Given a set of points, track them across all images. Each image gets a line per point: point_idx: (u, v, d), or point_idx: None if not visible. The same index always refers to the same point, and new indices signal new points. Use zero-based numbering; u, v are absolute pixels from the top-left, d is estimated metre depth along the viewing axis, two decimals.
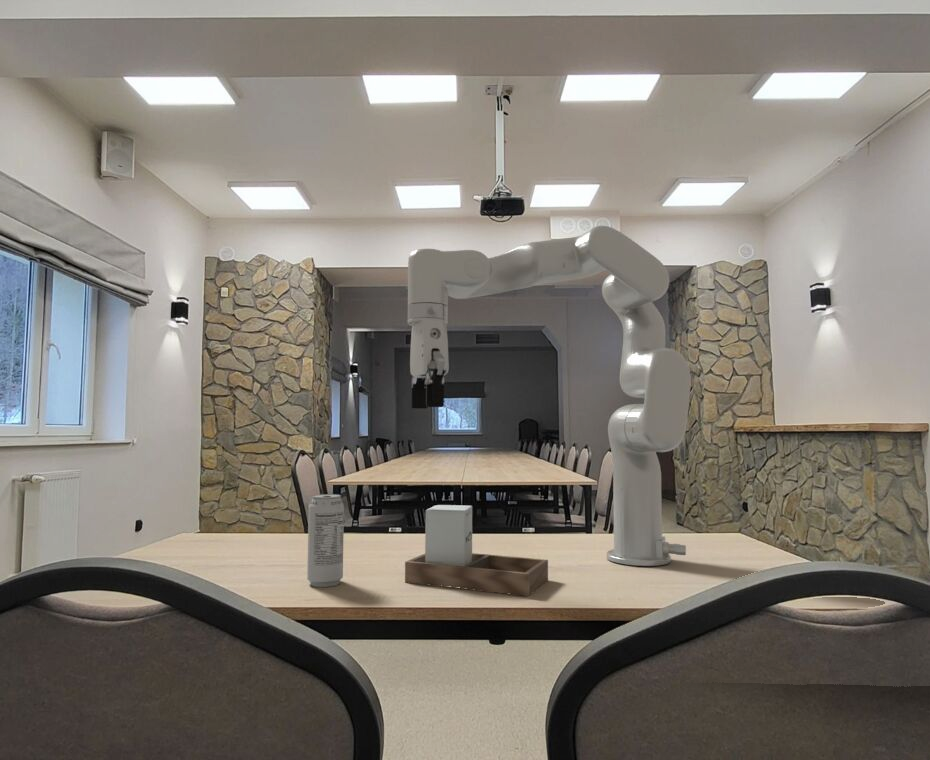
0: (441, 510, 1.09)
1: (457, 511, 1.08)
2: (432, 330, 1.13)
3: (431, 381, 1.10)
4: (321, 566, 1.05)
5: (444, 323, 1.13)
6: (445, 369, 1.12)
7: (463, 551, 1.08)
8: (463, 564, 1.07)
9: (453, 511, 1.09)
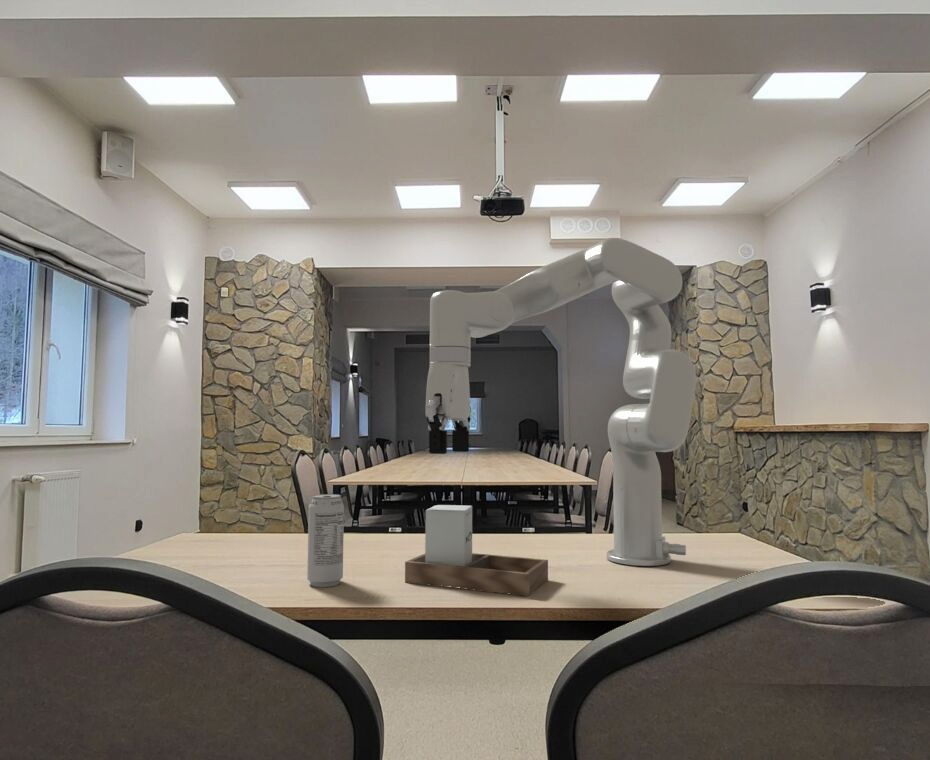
0: (441, 510, 1.09)
1: (457, 511, 1.08)
2: None
3: (468, 427, 1.18)
4: (321, 566, 1.05)
5: None
6: None
7: (463, 551, 1.08)
8: (463, 564, 1.07)
9: (453, 511, 1.09)
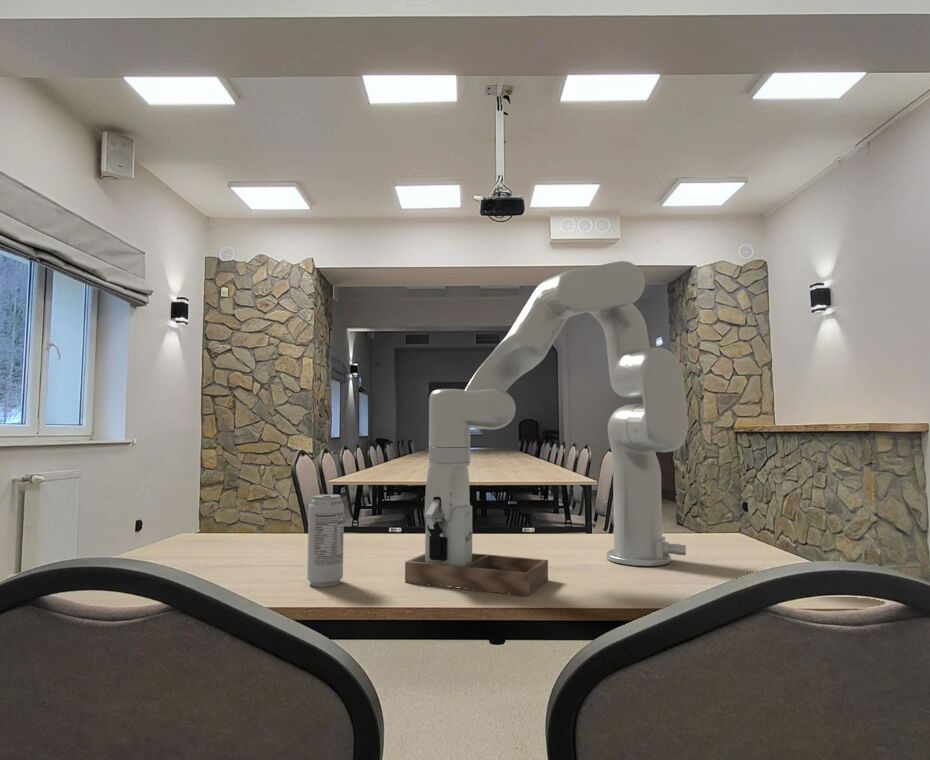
0: (441, 510, 1.09)
1: (457, 511, 1.08)
2: None
3: None
4: (321, 566, 1.05)
5: None
6: None
7: (463, 551, 1.08)
8: (463, 564, 1.07)
9: (453, 511, 1.08)
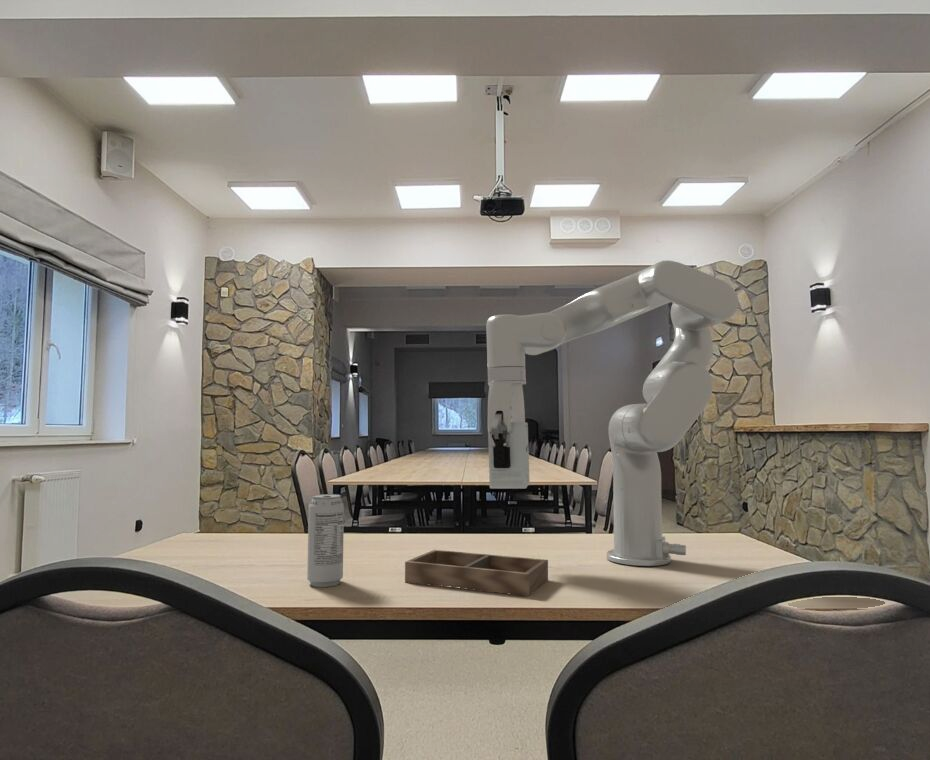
0: (502, 423, 1.19)
1: (517, 423, 1.19)
2: None
3: None
4: (321, 566, 1.05)
5: None
6: None
7: (524, 459, 1.18)
8: (525, 471, 1.18)
9: None
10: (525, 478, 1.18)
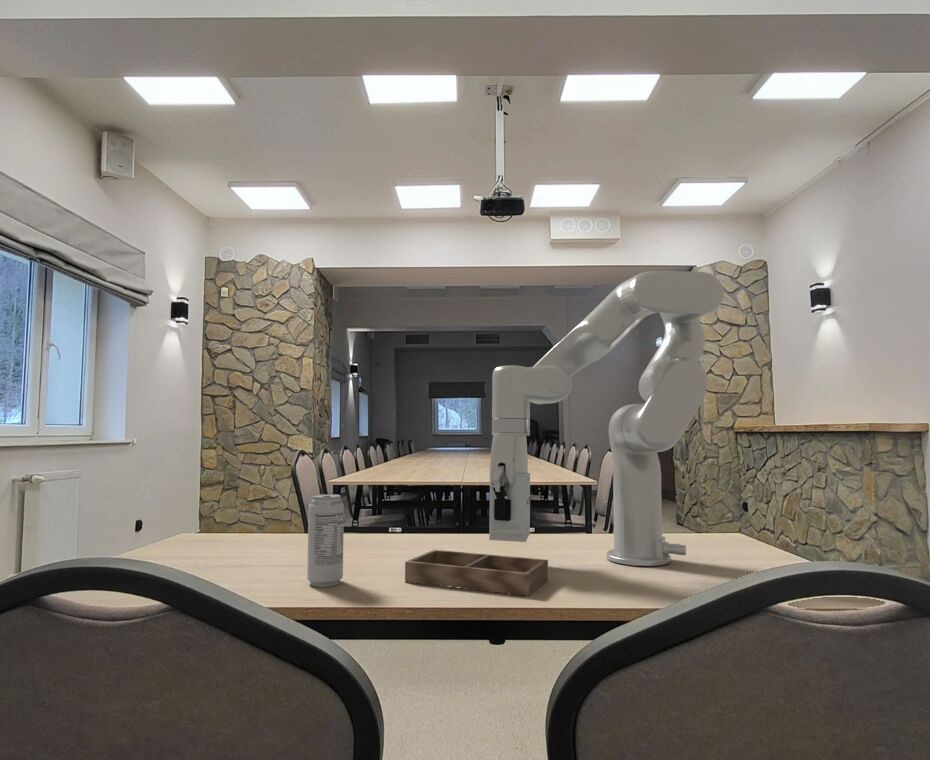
0: (504, 475, 1.19)
1: (519, 476, 1.19)
2: None
3: None
4: (321, 566, 1.05)
5: None
6: None
7: (525, 512, 1.18)
8: (525, 524, 1.18)
9: (516, 476, 1.19)
10: (525, 531, 1.18)
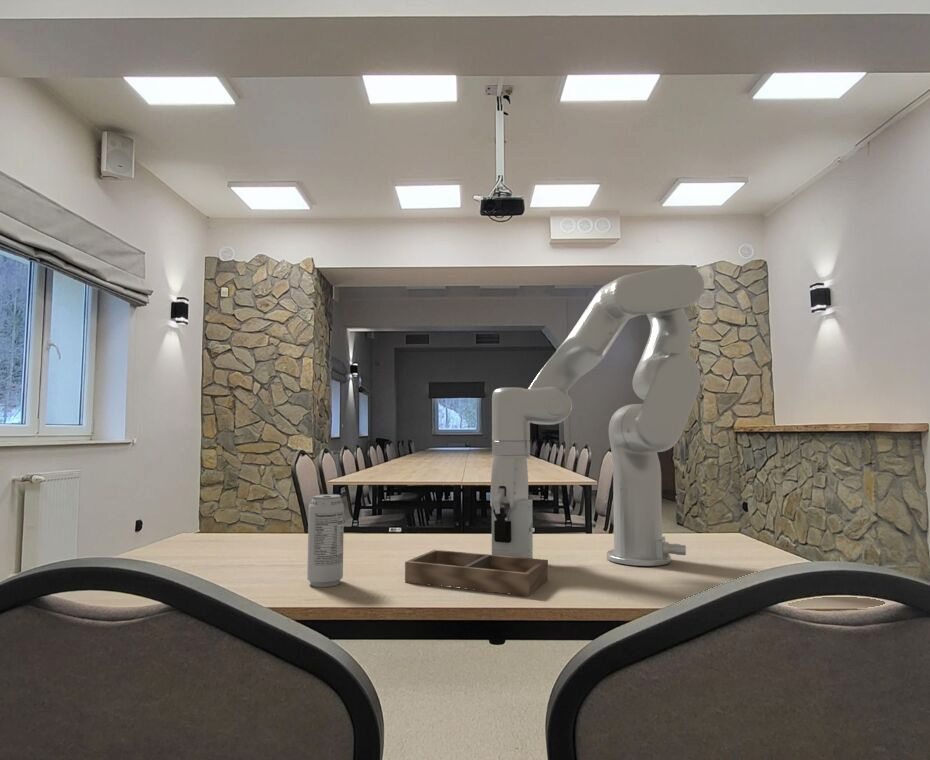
0: (506, 503, 1.19)
1: (521, 504, 1.19)
2: None
3: None
4: (321, 566, 1.05)
5: None
6: None
7: (527, 540, 1.18)
8: (527, 552, 1.18)
9: (517, 504, 1.19)
10: None
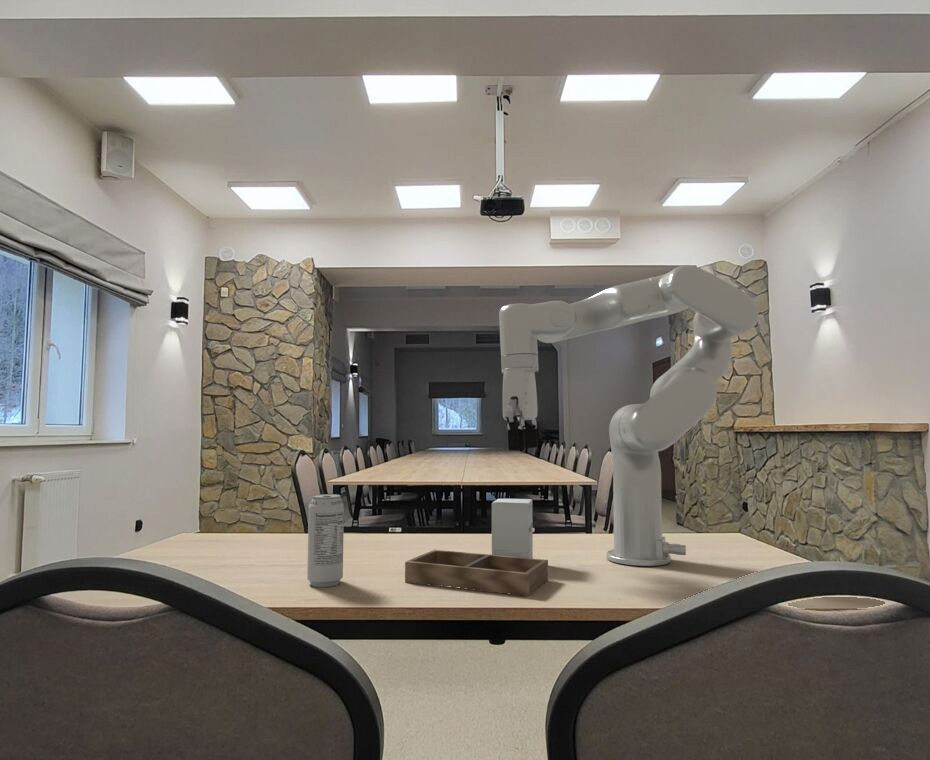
0: (506, 503, 1.19)
1: (521, 504, 1.19)
2: None
3: None
4: (321, 566, 1.05)
5: None
6: None
7: (527, 540, 1.18)
8: (527, 552, 1.18)
9: (517, 504, 1.19)
10: None
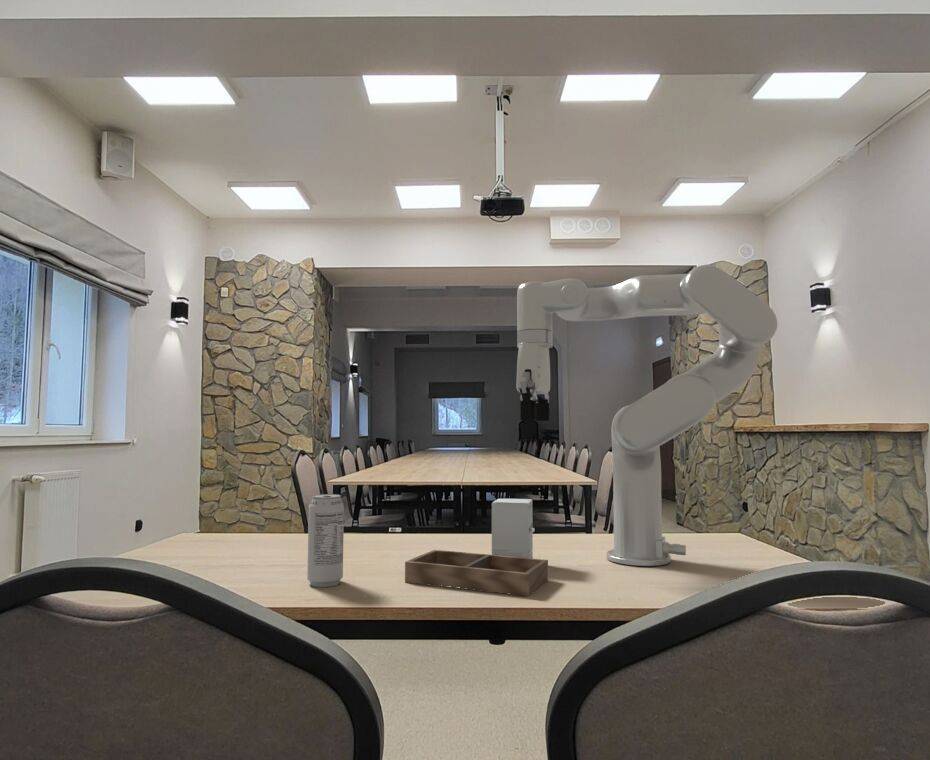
0: (506, 503, 1.19)
1: (521, 504, 1.19)
2: None
3: None
4: (321, 566, 1.05)
5: None
6: None
7: (527, 540, 1.18)
8: (527, 552, 1.18)
9: (517, 504, 1.19)
10: None
